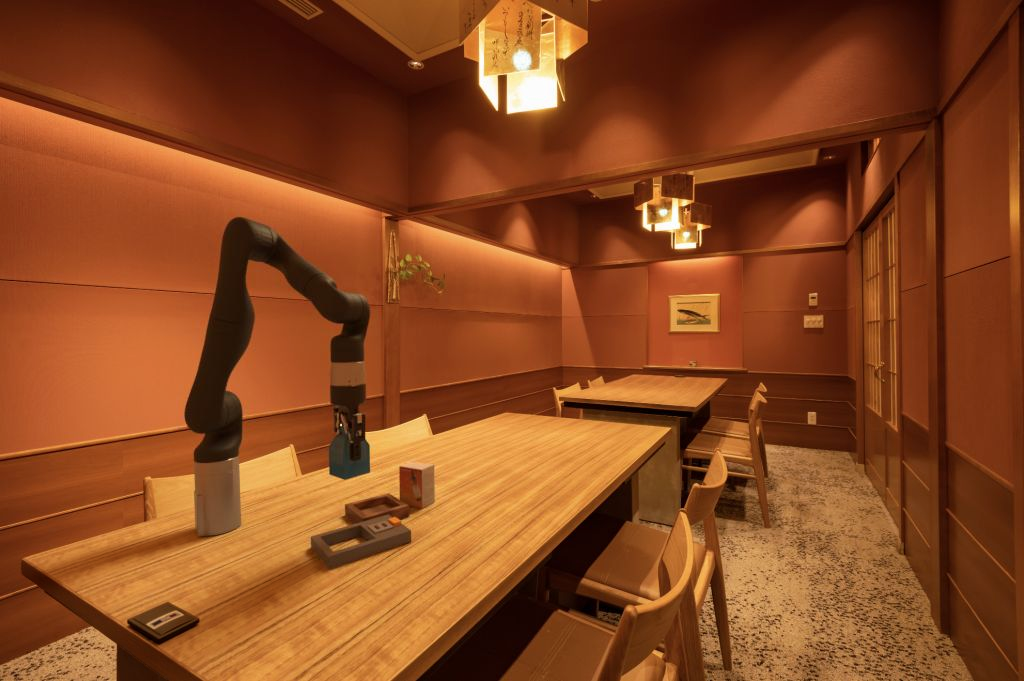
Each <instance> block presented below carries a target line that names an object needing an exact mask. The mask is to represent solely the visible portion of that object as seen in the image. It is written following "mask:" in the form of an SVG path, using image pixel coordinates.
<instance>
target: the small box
mask: <svg viewBox="0 0 1024 681" xmlns="http://www.w3.org/2000/svg"><path fill="white" fill-rule="evenodd" d="M398 469H399V471H398V472H399V473H398V474H399V475H398V476H399V500H401V501H402V502H404V503H405V504H407V505H409V507H410V506H411V507H415V508H419V509H421V510H422V509H424V508H427V507H428V506H430V505H431V504H434V503H435V500H436V496H435V495H436V494H435V493H436V492H435V490H436V488H435V486H436V485H435V484H436V482H435V480H436V479H435V478H436V477H435V464H432V463H425V462H418V461H413V460H412V461H409V462H406V463H404V464H401V465H399V467H398Z"/></svg>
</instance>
